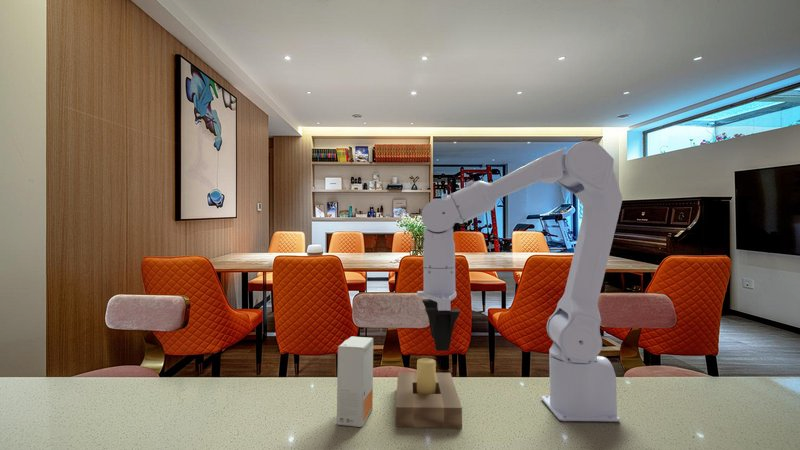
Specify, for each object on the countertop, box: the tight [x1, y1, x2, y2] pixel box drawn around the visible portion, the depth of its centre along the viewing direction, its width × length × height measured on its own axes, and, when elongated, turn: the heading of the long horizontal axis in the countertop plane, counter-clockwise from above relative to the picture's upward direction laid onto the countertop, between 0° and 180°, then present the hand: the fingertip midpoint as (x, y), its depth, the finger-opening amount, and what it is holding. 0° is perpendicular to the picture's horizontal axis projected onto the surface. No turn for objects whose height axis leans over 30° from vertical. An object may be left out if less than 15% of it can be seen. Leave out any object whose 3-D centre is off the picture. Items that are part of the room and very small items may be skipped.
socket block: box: [395, 371, 463, 429], centre depth 60 cm, size 10×14×3 cm
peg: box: [416, 357, 437, 394], centre depth 61 cm, size 3×3×7 cm
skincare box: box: [336, 335, 374, 428], centre depth 57 cm, size 6×4×12 cm
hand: (439, 343), depth 63 cm, fingers open, 7 cm apart
